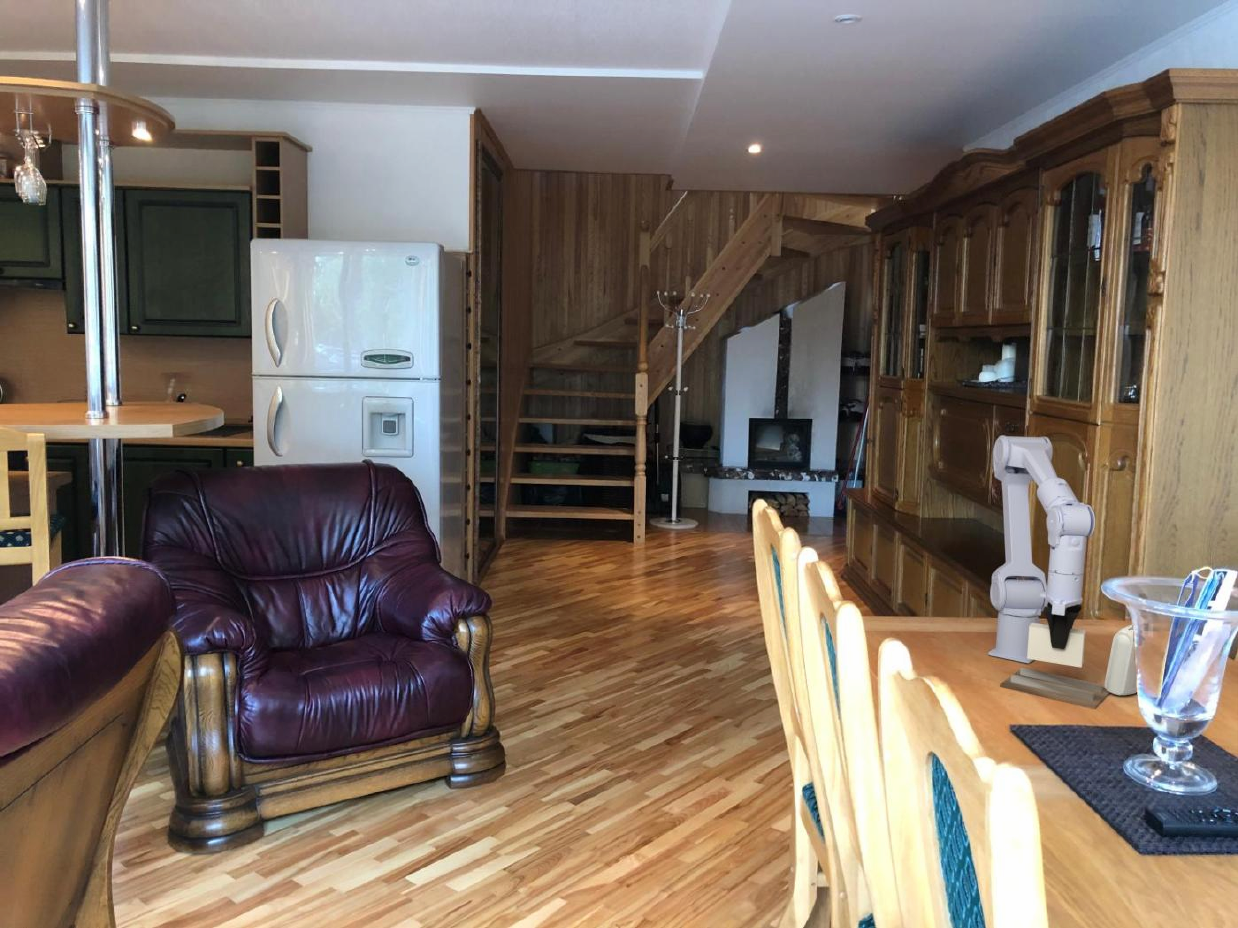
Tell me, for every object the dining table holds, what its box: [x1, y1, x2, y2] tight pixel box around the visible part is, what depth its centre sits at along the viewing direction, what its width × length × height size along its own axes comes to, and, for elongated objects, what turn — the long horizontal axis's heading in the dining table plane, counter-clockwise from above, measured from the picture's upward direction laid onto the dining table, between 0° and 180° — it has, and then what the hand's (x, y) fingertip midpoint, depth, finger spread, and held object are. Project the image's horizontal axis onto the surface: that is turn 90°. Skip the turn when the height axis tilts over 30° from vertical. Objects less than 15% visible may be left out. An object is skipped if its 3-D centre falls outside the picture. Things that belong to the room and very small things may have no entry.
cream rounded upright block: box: [1103, 624, 1136, 696], centre depth 176 cm, size 10×4×12 cm, turn 123°
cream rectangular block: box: [1027, 623, 1087, 668], centre depth 176 cm, size 3×9×6 cm, turn 59°
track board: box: [999, 667, 1111, 710], centre depth 177 cm, size 12×16×2 cm
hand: (1059, 645), depth 176 cm, fingers closed on cream rectangular block, 3 cm apart
